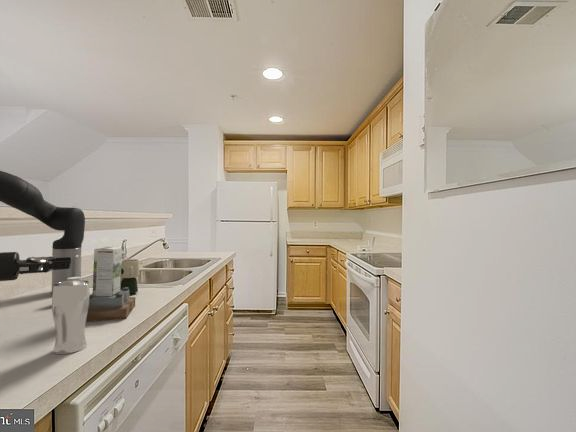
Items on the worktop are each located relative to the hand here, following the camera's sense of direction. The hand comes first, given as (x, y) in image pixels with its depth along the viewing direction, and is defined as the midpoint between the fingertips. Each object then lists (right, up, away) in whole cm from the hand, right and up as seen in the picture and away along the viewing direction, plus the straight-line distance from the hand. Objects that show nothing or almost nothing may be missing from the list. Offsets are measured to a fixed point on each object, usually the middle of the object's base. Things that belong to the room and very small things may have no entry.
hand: (70, 262), depth 87 cm
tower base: (+8, -17, +5) cm, 19 cm away
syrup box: (+8, -11, +5) cm, 14 cm away
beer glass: (+14, -17, -19) cm, 29 cm away
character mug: (+2, -17, +29) cm, 33 cm away
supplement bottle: (-12, -17, +17) cm, 27 cm away
